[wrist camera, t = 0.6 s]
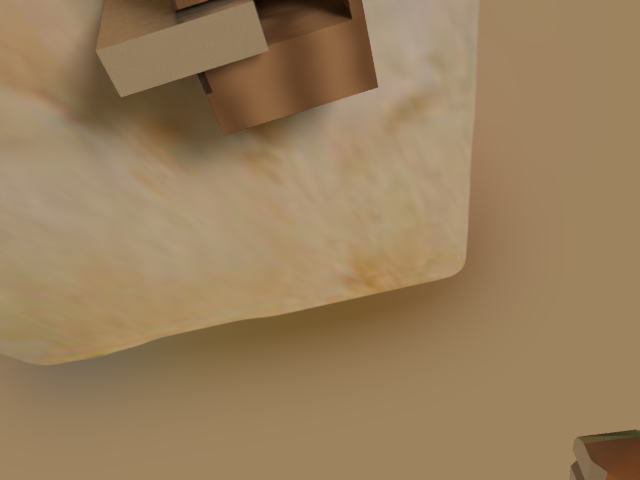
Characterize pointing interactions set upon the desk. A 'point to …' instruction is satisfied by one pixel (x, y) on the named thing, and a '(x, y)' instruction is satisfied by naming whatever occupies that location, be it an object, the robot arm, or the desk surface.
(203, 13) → the elongated beige block
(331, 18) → the housing
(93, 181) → the desk surface
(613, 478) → the robot arm
